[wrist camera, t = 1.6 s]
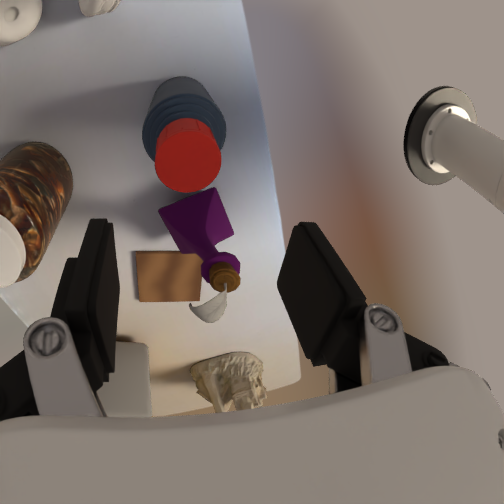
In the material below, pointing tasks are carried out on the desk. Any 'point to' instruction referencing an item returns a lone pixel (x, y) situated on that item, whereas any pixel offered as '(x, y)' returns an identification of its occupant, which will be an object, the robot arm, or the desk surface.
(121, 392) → the alarm clock
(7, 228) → the jar
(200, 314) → the perfume bottle
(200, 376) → the beige rough towered piece
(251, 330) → the desk surface
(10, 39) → the headphones
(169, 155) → the cap
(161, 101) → the water bottle
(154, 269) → the coaster
